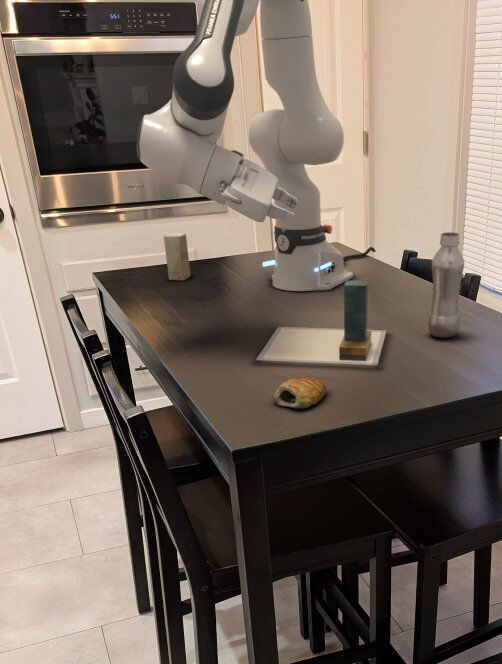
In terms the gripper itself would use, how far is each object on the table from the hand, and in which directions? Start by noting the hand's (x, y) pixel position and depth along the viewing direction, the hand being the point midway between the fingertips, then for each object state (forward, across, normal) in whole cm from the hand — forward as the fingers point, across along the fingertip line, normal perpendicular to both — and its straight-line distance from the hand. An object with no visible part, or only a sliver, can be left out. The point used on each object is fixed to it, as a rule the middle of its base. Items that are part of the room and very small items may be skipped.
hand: (294, 211), depth 134 cm
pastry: (+11, -32, +19) cm, 39 cm away
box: (-18, +48, +42) cm, 66 cm away
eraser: (+20, -10, +16) cm, 28 cm away
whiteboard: (+15, -7, +20) cm, 26 cm away
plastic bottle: (+38, +1, +10) cm, 39 cm away
